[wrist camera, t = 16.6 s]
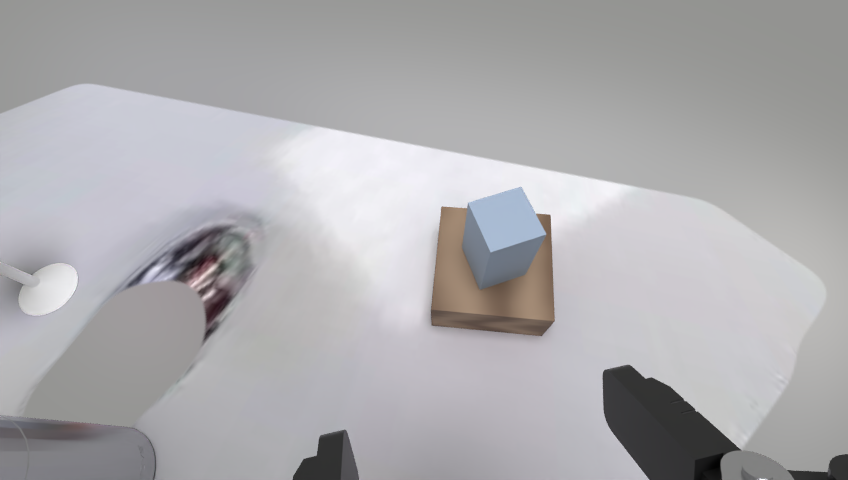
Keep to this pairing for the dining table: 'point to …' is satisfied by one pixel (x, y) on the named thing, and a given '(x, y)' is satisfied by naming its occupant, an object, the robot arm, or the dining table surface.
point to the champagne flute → (43, 287)
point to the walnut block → (496, 305)
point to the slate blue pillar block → (501, 237)
